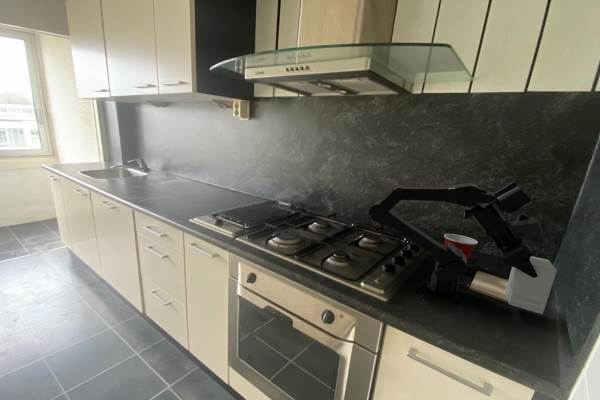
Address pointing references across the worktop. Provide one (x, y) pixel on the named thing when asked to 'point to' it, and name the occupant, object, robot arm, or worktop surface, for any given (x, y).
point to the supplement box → (531, 286)
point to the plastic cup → (461, 243)
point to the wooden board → (490, 285)
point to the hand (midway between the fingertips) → (531, 270)
